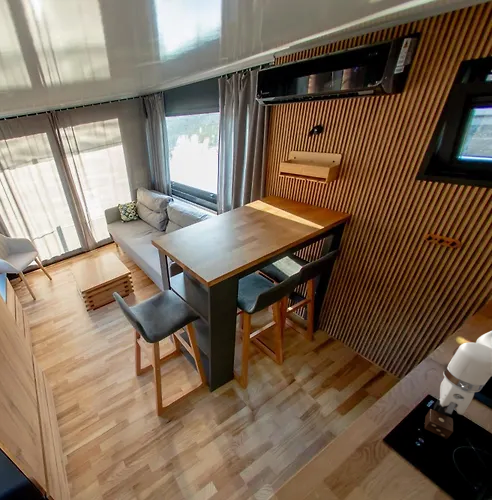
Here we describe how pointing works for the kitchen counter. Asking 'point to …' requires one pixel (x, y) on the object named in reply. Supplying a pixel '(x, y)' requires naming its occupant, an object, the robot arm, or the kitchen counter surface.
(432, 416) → the die
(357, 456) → the kitchen counter surface
